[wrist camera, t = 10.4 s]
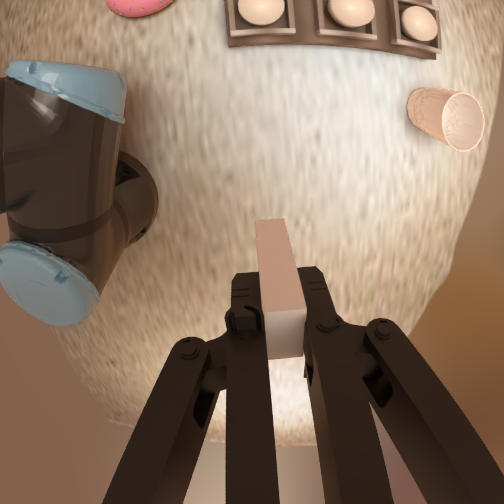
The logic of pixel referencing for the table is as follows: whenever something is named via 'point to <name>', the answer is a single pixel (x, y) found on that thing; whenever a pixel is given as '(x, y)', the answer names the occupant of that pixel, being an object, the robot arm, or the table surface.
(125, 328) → the table surface
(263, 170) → the table surface
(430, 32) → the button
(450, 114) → the tan paper cup
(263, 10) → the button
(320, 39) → the panel
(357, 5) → the button mid
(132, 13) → the doughnut
